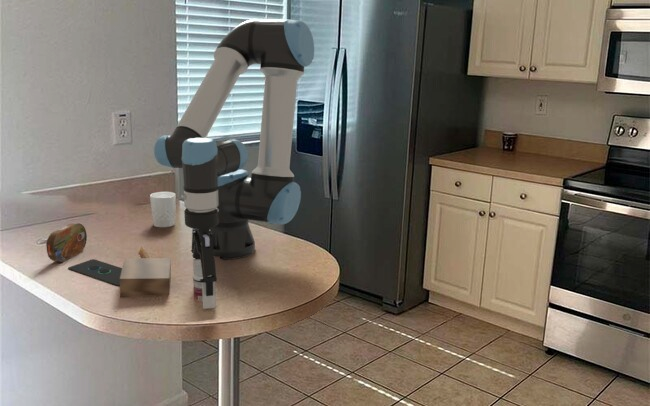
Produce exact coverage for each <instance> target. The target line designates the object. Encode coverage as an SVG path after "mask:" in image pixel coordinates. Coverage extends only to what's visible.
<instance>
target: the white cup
mask: <svg viewBox="0 0 650 406" xmlns="http://www.w3.org/2000/svg"><path fill="white" fill-rule="evenodd" d="M149 199H150V200H149V201H150V207H151V208H150V210H151V214H152V215H151V216H152V221H153V226H154V227H156V228H169V227H173V226H175V224H176V193H175V192H173V191H156V192H153V193H151V194H150V195H149Z"/></svg>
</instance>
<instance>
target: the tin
mask: <svg viewBox="0 0 650 406" xmlns="http://www.w3.org/2000/svg"><path fill="white" fill-rule="evenodd" d="M86 230H87V229H86V228H85V226H84V225H83V224H81V223H79V222H78V223H77V222H76V223H68V224H66V225H64V226H63V227H61V228H59V229H57V230H55V231H52V232H51V233H50V234H49V236H48V237H47V239H46V244H45V245H46V246H45V247H46V253H47V256H48V258H49V259H50V260H51V261H53V262H60V263H64V262H67V261H68V260H70V259H71V258H73V257H74V256H76V255H78V254H80V253H81V252H83V250H84V249H85V247H86V244H87V237H88V235H87V231H86Z"/></svg>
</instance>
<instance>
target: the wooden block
mask: <svg viewBox="0 0 650 406" xmlns="http://www.w3.org/2000/svg"><path fill="white" fill-rule="evenodd" d="M171 264H172V258H170V257H161V258H159V257H158V258H157V257H149V258H139V257H136V258H135V257H133V258H131V257H129V258H125V257H124V260H123V264H122V267H121V268H122V271H121V276H120V286H119V297H120V298H135V297H150V296H151V297H152V296H166V295H168V296H169V295H170V291H171V290H170V288H171V287H170V286H171V278H172V277H171V276H172V275H171V274H172V272H171V271H172V268H171V267H172V265H171Z"/></svg>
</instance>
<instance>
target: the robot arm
mask: <svg viewBox="0 0 650 406" xmlns="http://www.w3.org/2000/svg"><path fill="white" fill-rule="evenodd" d="M314 56H315V43H314V37H313V34H312V32H311V30H310V27H309V26H308V25H307V23H306V22H304V21H302V20H297V19H290V18H287V19H281V18H280V19H275V18H274V19H272V18H271V19H261V18H253V19H252V18H251V19H249V20H245V21H244V22H241V23H240V24H238V25H237V26H236V27H234V28H233V29H231V31H229V32H228V33H227V34H226V35H225V36H224V37H223V38H222V40H221V41H220V42H219V44H218V45H217V47H216V49H215V50H214V52H213V59H214V60H213V62H212V63H211V66H210V68H209V69H208V70H207V73H206V75H204V78H203V80H202V81H201V82H200V85H199V86H198V88H197V90H196V92H195V93H194V95H193V96H192V99H191V101H190V102H189V104H188V106H187V107H186V110H185V111H184V113H183V115H182V116H181V118H180V120H179V121H178V123H177V125H176V127H175V129H174V131H173V132H172V134H171V135H170V134H168V135H167V134H166V135H165V134H164V135H162V136H160V137H159V138H157V139H156V141H155V144H154V146H153V147H154V148H153V152H154V153H153V154H154V158H155V160H156V161H157V163H158V164H159V165H161V166H165V167H170V168H173V169H182V175H183V179H182V180H183V194H181V195H180V198H181V199H182V200H183V201H184V202H183V204H184V205H183V207H184V208H185V210H183V211H184V225H185V226H186V227H188V228H190V229H192V230H191V231H192V233H191V251H190V252H191V254H192V258H193V259H192V265H193V267H192V268H193V270H192V271H193V276H194V275H195V266H197V265H200V264H201V267H202V275H203V279H200V283H202V295H203V302H202V309H203V310H205V309H213V308H216V306H217V305H216V282H217V280H218V278H217V270H216V262H215V257H216V258H217V257H218V258H219V259H221V260H232V259H233V260H234V259H240V258H244V257H248V256H250V255H252V254H253V253H255V251H256V243H255V239H254V236H253V234H252V231H251V228H250V224H249V220H250V221H256V222H261V223H262V222H263V223H268V224H269V225H275V224H276V225H285V224H288V223H289V222H291V221H292V219H293V218H294V217H295V216H296V214H297V212H298V210H299V206H300V203H301V199H302V191H301V187H300V185H299V184H298V183H297V182H295V175H294V173H293V172H292V171H291V169H290V166H291V165H290V164H291V155H292V154H291V153H292V146H293V145H292V143H293V132H294V123H295V122H294V121H295V111H296V98H297V91H298V90H297V89H298V80H299V79H300V78H301V77H302V76H303V75H304V73H305V68H306V67H309V66H310V65H312V63H313V60H314ZM255 64H259V65H260V72H262V74H263V75H264V88H263V97H262V98H263V100H262V114H261V124H260V137H259V145H258V146H259V147H258V161H257V166H256V167H255V168H254V169H253V170H252V171H251V176H250V177H249V175H250V174H249V172H248V170H246V169H242V168H244V167H245V166H246V164H248V163H247V162H248V159H249V153H248V149H247V147H246V145H245V144H244V143H243V142H242V141H241V140H239V139H228V138H227V139H225V140H215V139H214V138H211V137H208V135H209V133H210V131H211V129H212V127H213V125H214V124H215V121H216V119H217V118H218V116H219V114H220V113H221V111H222V108H223V107H224V105H225V103H226V102H227V99H228V98H229V95H230V93H231V92H232V90H233V88H234V86H235V84H236V83H237V81H238V79H239V78H240V75H244V74H245V73H246V72H247V70H248V68H249V67H250V66H252V65H255ZM207 276H208V277H207Z"/></svg>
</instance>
